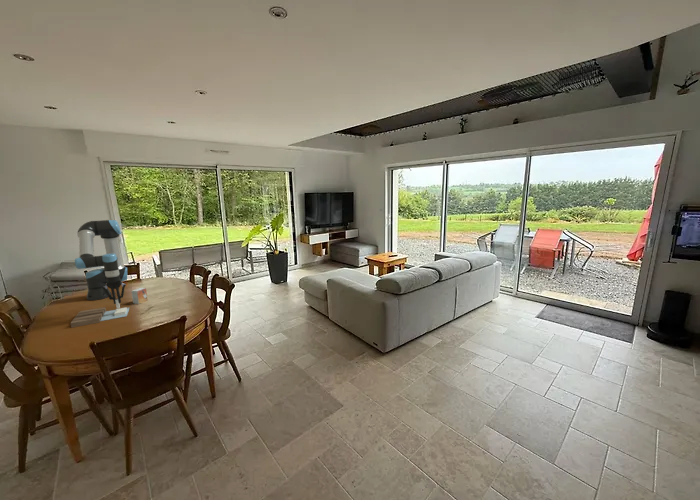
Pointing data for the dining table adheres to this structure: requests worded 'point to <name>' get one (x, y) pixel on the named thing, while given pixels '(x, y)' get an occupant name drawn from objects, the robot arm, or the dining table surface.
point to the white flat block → (120, 311)
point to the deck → (88, 317)
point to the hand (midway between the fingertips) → (118, 307)
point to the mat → (112, 315)
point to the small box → (139, 295)
